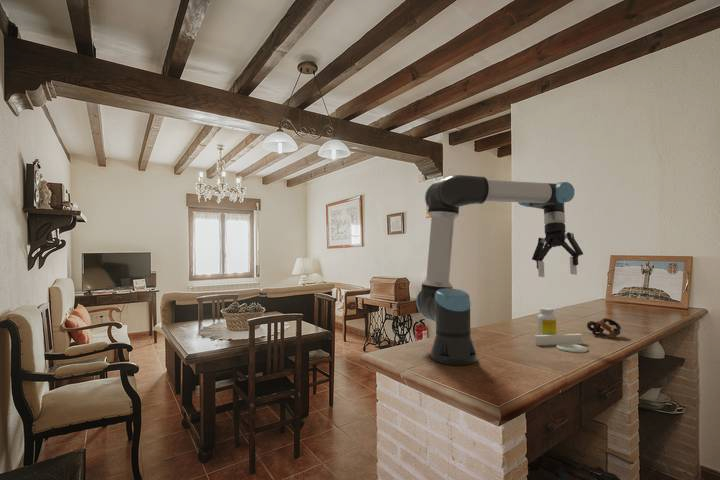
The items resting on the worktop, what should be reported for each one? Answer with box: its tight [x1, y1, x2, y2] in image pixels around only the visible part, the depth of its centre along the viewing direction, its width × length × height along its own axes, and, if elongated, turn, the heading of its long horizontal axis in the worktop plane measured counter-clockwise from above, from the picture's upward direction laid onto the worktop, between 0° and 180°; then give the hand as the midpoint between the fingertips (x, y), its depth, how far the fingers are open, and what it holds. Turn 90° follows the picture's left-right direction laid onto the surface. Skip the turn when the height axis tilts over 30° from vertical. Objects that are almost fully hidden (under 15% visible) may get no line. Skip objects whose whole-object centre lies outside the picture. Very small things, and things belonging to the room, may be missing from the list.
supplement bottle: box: [537, 307, 557, 335], centre depth 145 cm, size 7×7×13 cm
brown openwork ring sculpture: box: [586, 317, 622, 339], centre depth 151 cm, size 12×10×8 cm
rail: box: [532, 333, 584, 346], centre depth 140 cm, size 19×2×4 cm, turn 94°
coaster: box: [555, 343, 589, 354], centre depth 133 cm, size 10×10×1 cm
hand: (556, 275), depth 143 cm, fingers open, 13 cm apart
